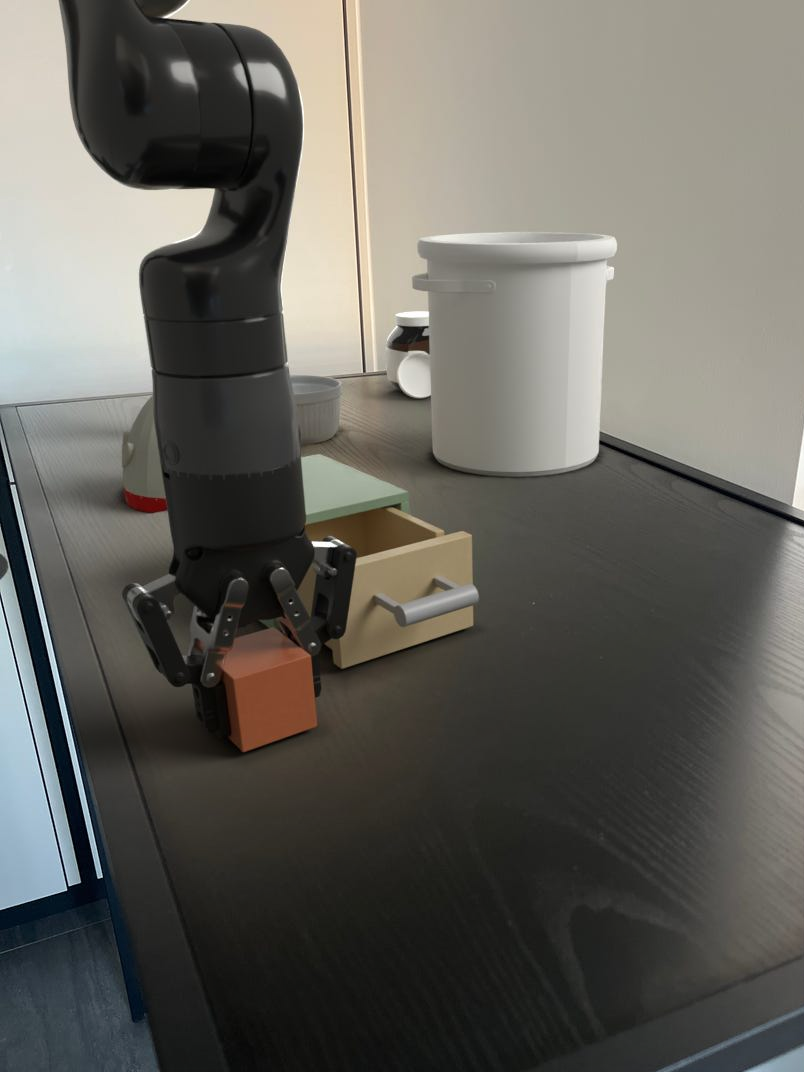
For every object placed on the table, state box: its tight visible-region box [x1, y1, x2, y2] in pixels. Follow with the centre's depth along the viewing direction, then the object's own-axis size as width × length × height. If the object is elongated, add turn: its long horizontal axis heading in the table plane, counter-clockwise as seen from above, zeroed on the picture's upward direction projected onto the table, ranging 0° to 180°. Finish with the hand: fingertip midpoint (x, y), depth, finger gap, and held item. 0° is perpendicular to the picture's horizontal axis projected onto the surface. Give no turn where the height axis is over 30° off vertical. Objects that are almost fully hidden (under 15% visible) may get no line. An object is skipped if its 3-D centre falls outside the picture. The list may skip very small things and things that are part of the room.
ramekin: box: [290, 374, 344, 446], centre depth 129 cm, size 13×13×7 cm
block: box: [220, 627, 318, 753], centre depth 60 cm, size 5×5×5 cm
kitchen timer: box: [121, 395, 167, 514], centre depth 104 cm, size 14×14×15 cm
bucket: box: [411, 231, 618, 478], centre depth 114 cm, size 26×22×25 cm
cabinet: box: [258, 453, 410, 632], centre depth 81 cm, size 15×13×9 cm
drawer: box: [297, 506, 480, 670], centre depth 72 cm, size 18×11×7 cm, turn 37°
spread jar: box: [385, 311, 431, 400], centre depth 152 cm, size 12×11×12 cm
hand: (261, 716), depth 61 cm, fingers closed on block, 5 cm apart
